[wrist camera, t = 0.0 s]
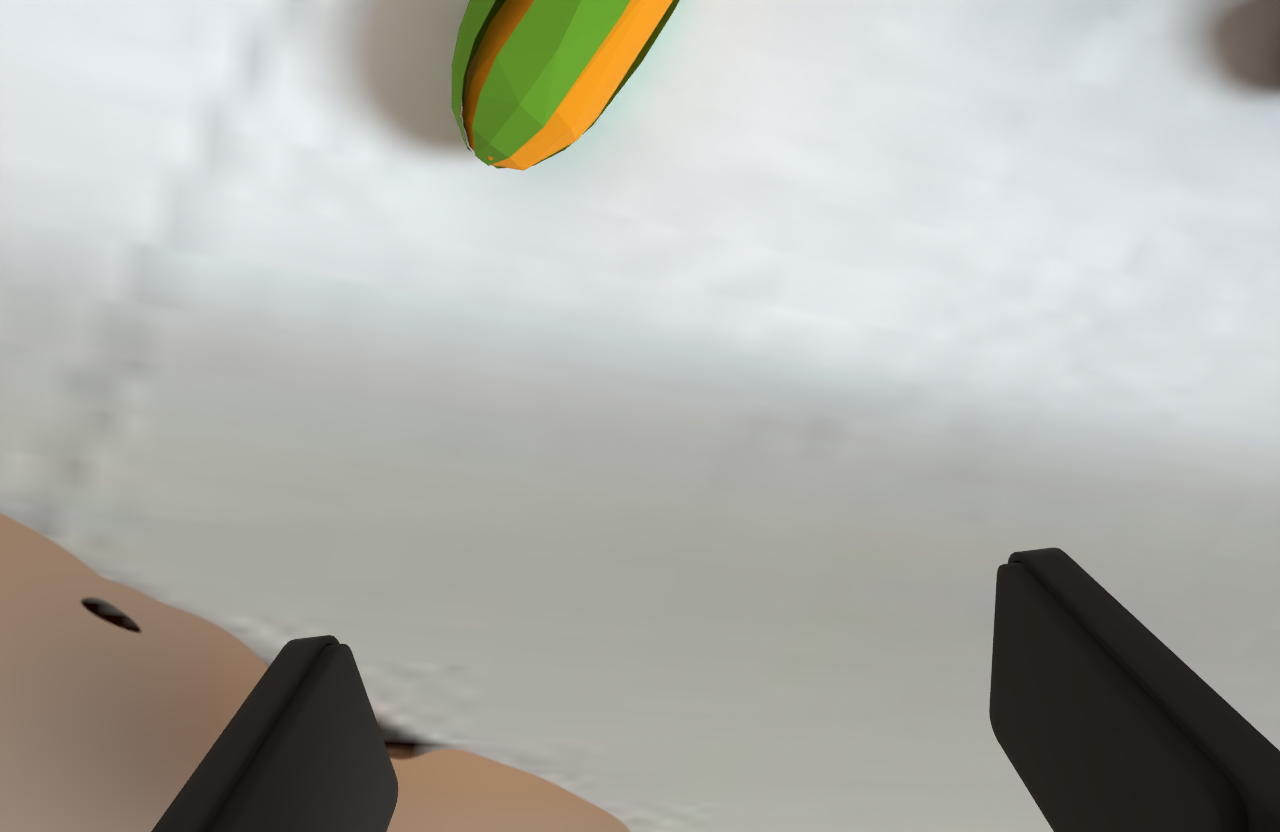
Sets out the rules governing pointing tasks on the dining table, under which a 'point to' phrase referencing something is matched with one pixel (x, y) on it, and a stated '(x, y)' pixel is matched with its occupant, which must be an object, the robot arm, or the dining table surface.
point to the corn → (545, 70)
